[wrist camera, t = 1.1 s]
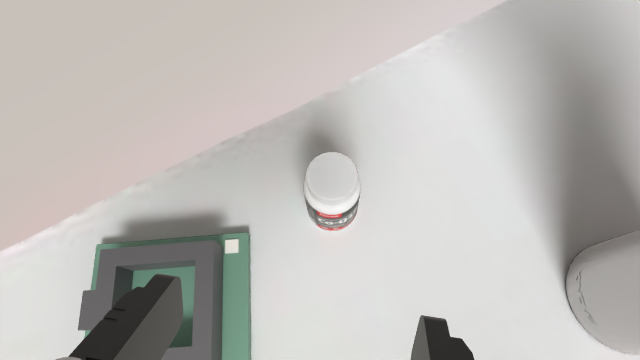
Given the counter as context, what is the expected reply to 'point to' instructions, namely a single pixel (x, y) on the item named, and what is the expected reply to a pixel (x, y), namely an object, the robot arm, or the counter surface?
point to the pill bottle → (332, 190)
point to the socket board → (197, 290)
